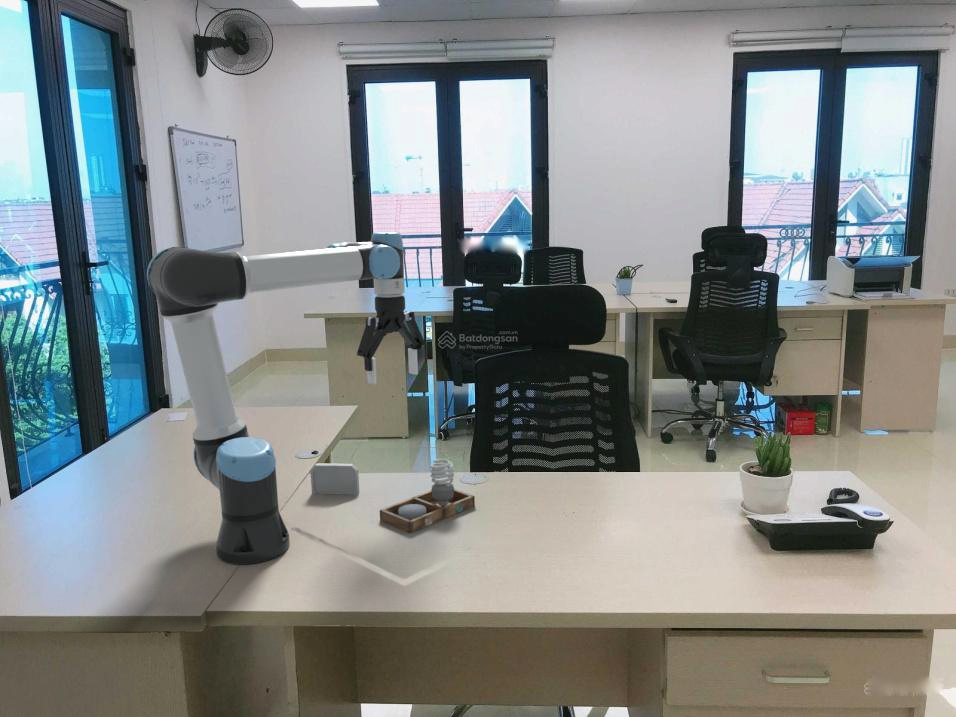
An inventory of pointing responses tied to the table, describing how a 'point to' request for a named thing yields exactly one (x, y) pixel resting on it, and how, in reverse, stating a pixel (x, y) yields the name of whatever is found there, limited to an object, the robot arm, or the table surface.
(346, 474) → the grey plastic panel
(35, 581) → the table surface
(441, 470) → the light bulb
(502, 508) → the table surface
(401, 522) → the organizer
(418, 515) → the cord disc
